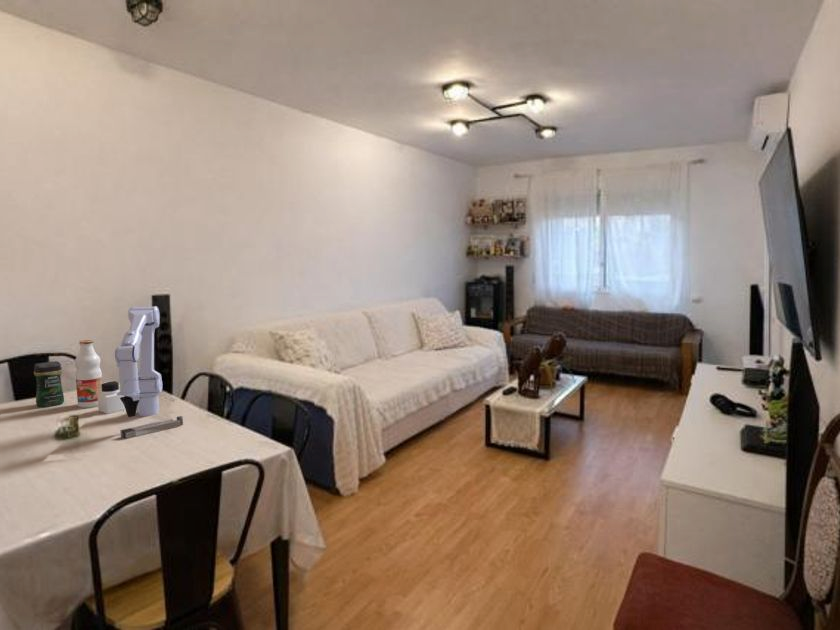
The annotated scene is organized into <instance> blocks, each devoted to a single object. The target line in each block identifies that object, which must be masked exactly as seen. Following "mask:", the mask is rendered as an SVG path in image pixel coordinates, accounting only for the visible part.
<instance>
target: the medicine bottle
mask: <svg viewBox="0 0 840 630" xmlns="http://www.w3.org/2000/svg"><path fill="white" fill-rule="evenodd" d="M101 387H102V394H98V406H97V408H98V411H99V412H101V413H104V414H106V415H109V414H112V413H116V412H120V411H124V410H125V411H126V409H125V407H124V404H123V402H122V401H121V399H120V398H121V397H125V396H123V395H117V393H118V392H120V382H118V381H114V380H113V381H112V380H111V381H105V382H103V384H102V385H101Z"/></svg>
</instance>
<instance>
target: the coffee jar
mask: <svg viewBox="0 0 840 630" xmlns="http://www.w3.org/2000/svg"><path fill="white" fill-rule="evenodd" d="M62 372H63V368H62V363H61V362H59V361H55V360H54V361H46V362H40V363H35V364H34V366H33V375H34V377H35V378H36V379H35V381H36V392H35V393H36V395H35V405H36V406H37V407H39V408H45V407H46V408H47V407H48V408H49V407H54V406H57V405H62V404H63V403H65V396H64V392H63V386H62V381H61V377H62V376H61V375H62Z"/></svg>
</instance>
